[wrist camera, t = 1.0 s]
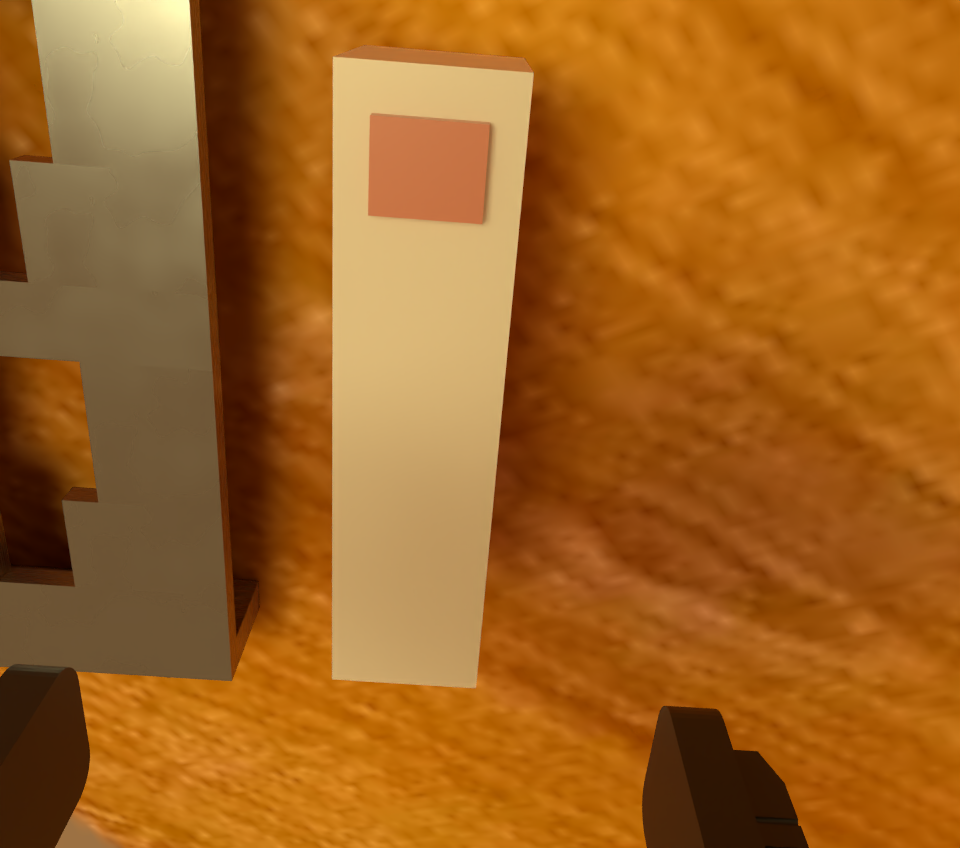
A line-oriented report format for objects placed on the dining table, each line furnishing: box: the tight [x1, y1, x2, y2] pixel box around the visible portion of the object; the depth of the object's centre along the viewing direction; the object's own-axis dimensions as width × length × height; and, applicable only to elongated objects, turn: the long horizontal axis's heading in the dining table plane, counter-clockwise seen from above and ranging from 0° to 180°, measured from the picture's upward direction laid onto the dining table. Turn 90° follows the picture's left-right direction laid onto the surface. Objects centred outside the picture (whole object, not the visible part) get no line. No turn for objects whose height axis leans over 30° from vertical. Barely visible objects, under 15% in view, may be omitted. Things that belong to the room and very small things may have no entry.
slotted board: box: [0, 0, 260, 681], centre depth 26 cm, size 24×12×4 cm, turn 176°
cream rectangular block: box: [332, 45, 534, 688], centre depth 24 cm, size 16×4×8 cm, turn 176°
